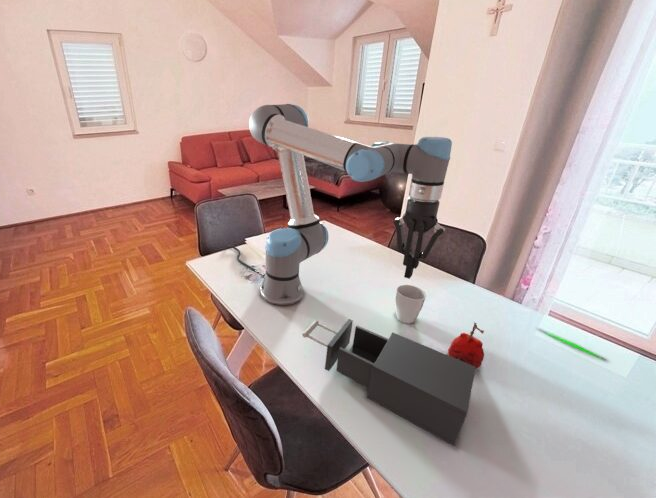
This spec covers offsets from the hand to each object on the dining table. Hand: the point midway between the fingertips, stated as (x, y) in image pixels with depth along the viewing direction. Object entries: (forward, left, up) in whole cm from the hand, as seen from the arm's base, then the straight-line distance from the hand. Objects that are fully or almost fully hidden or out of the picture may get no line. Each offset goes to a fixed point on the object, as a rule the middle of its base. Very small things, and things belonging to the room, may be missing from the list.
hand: (408, 276), depth 91 cm
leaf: (+42, +21, -17) cm, 50 cm away
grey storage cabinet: (+11, -25, -17) cm, 33 cm away
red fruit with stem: (+18, -6, -17) cm, 26 cm away
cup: (+1, +4, -17) cm, 18 cm away
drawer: (-5, -25, -16) cm, 30 cm away
